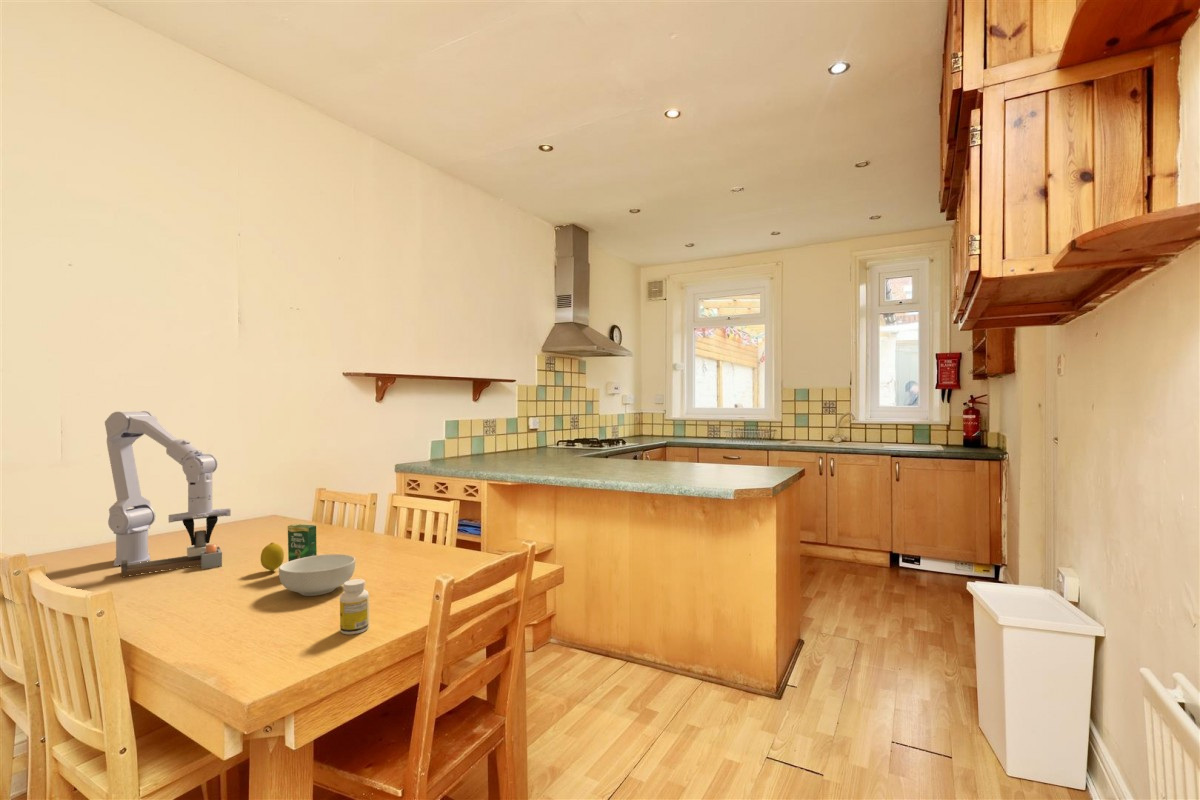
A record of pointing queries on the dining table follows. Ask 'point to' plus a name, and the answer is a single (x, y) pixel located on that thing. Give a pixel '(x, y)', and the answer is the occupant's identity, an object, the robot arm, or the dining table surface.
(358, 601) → the supplement bottle
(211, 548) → the orange cylindrical peg
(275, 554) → the lemon
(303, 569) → the cereal bowl
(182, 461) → the robot arm
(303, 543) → the coffee box
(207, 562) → the box
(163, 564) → the rail board
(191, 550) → the carriage
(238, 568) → the dining table surface
